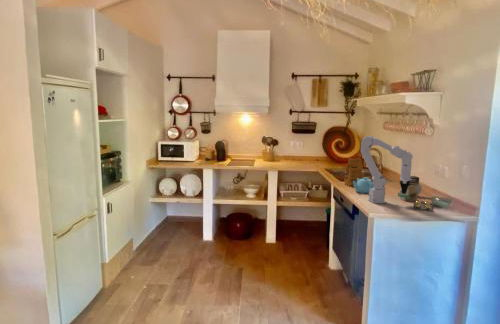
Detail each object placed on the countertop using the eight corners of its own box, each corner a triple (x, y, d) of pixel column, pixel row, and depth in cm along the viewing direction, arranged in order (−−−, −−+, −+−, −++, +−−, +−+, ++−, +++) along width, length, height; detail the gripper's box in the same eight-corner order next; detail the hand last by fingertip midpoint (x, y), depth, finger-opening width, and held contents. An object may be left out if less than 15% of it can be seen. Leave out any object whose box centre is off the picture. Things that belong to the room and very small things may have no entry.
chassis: (432, 211, 195) (432, 204, 195) (413, 209, 200) (414, 202, 199) (431, 206, 207) (431, 199, 206) (413, 204, 211) (414, 197, 211)
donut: (419, 195, 235) (421, 181, 233) (422, 196, 231) (423, 182, 230) (405, 195, 235) (406, 181, 233) (407, 196, 232) (408, 182, 230)
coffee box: (403, 201, 219) (405, 177, 217) (399, 198, 225) (401, 175, 223) (417, 201, 219) (419, 177, 217) (412, 198, 226) (414, 175, 223)
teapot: (350, 192, 242) (351, 177, 240) (356, 188, 254) (357, 174, 253) (372, 195, 234) (373, 180, 232) (377, 191, 246) (378, 177, 244)
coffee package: (343, 183, 270) (344, 157, 267) (357, 183, 271) (359, 157, 268) (347, 186, 260) (349, 159, 257) (362, 186, 261) (364, 159, 258)
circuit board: (409, 198, 201) (410, 191, 201) (397, 196, 204) (397, 190, 204) (410, 194, 210) (410, 188, 210) (398, 193, 213) (398, 187, 213)
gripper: (412, 174, 197) (410, 196, 199) (413, 170, 210) (411, 191, 212) (399, 172, 200) (398, 194, 202) (400, 169, 213) (399, 189, 215)
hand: (403, 192), depth 207 cm, fingers closed on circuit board, 4 cm apart
